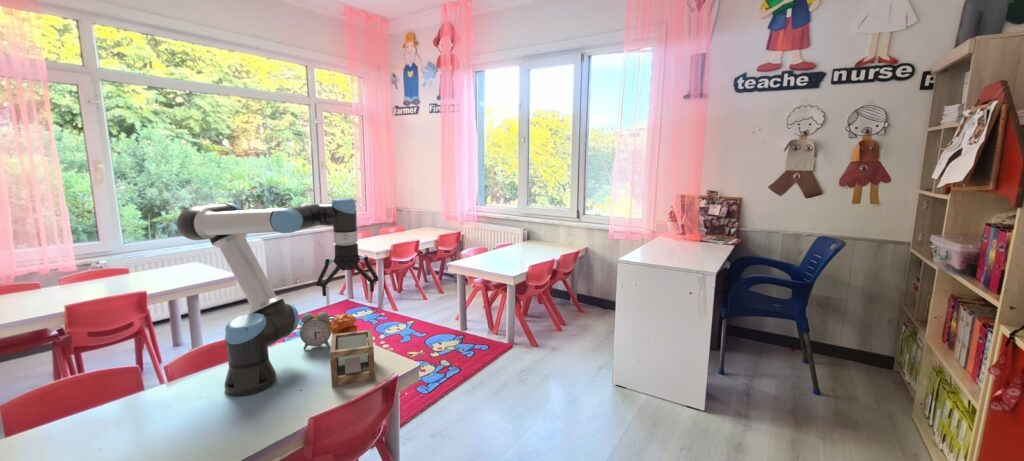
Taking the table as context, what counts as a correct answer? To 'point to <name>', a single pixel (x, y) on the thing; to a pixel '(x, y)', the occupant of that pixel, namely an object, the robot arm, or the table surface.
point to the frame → (347, 352)
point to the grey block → (352, 366)
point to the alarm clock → (315, 329)
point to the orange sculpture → (343, 324)
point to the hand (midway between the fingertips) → (349, 302)
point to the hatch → (352, 343)
